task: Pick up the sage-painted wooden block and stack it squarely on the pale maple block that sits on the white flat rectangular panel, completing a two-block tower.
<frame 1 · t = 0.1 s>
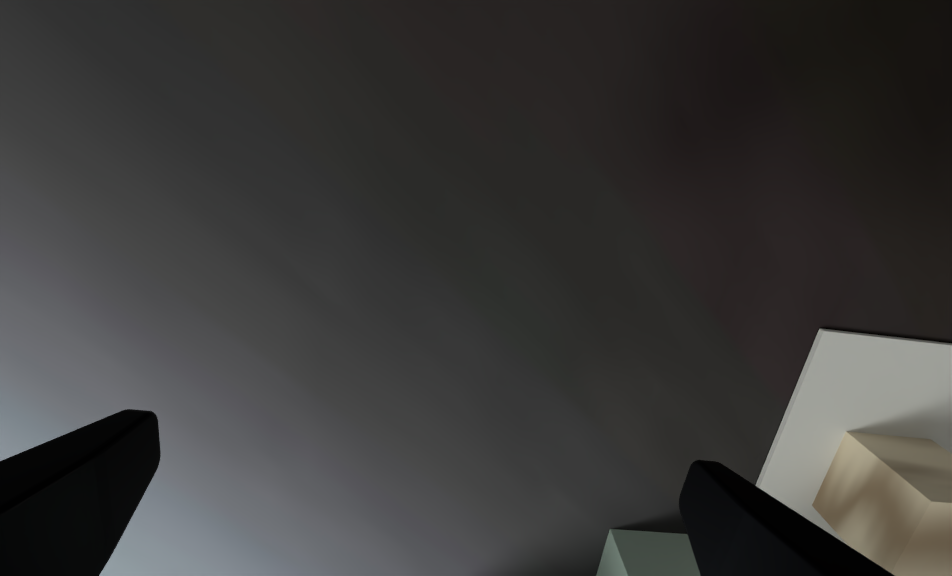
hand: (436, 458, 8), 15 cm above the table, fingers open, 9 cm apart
maple block: (869, 473, 28), resting on white flat rectangular panel
white flat rectangular panel: (865, 469, 28), on the table
sage block: (640, 563, 30), on the table
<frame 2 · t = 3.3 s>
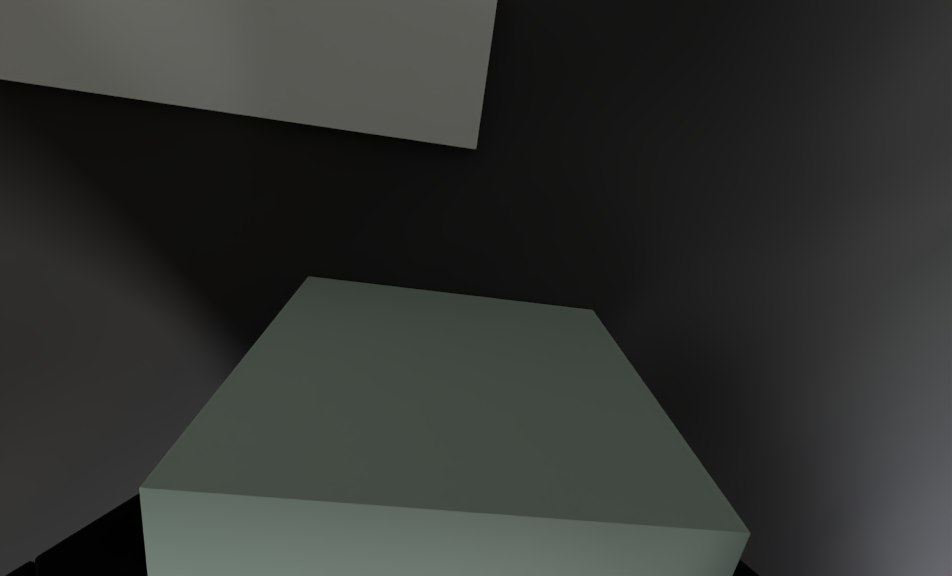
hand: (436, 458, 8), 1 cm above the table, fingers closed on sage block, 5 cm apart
sage block: (437, 414, 10), on the table, touching gripper
when the fingers open (8 cm above the table, at t = 7.1 s): sage block drops 1 cm, resting on maple block.
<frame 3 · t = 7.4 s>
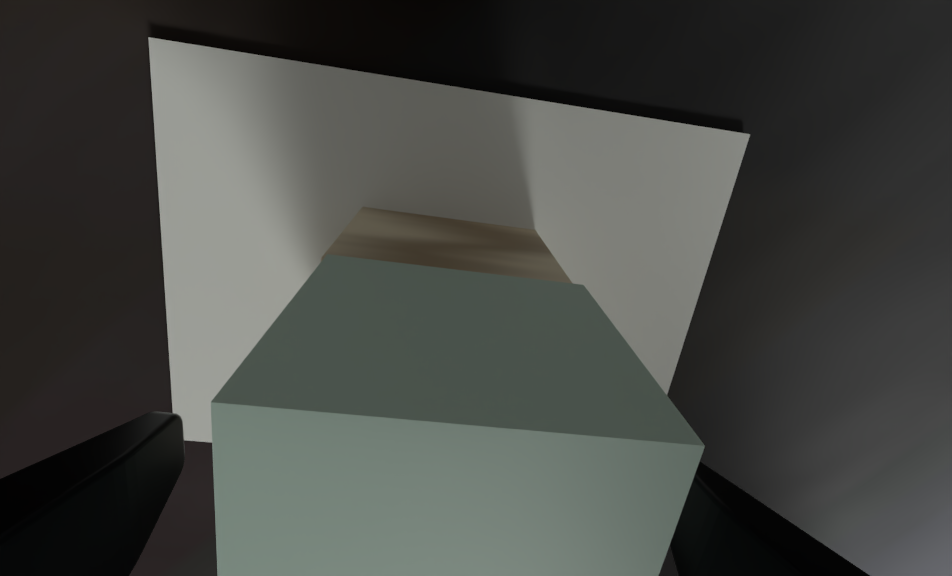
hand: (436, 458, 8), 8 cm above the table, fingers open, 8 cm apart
maple block: (439, 298, 15), resting on white flat rectangular panel, touching sage block
white flat rectangular panel: (440, 295, 16), on the table
sage block: (443, 382, 11), point 5 cm above the table, touching maple block
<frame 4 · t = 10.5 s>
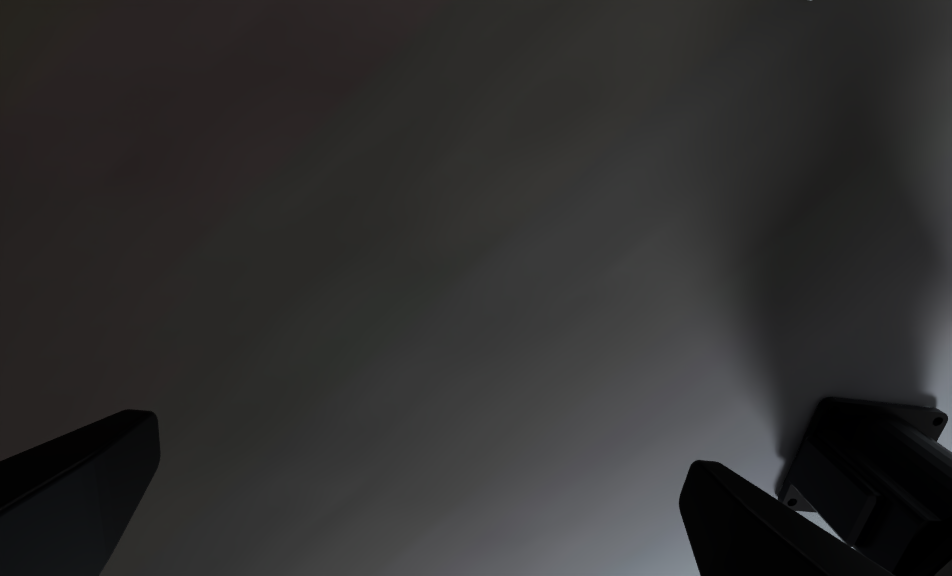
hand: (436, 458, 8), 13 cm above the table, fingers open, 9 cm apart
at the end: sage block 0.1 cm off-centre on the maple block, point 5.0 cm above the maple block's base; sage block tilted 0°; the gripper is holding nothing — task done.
